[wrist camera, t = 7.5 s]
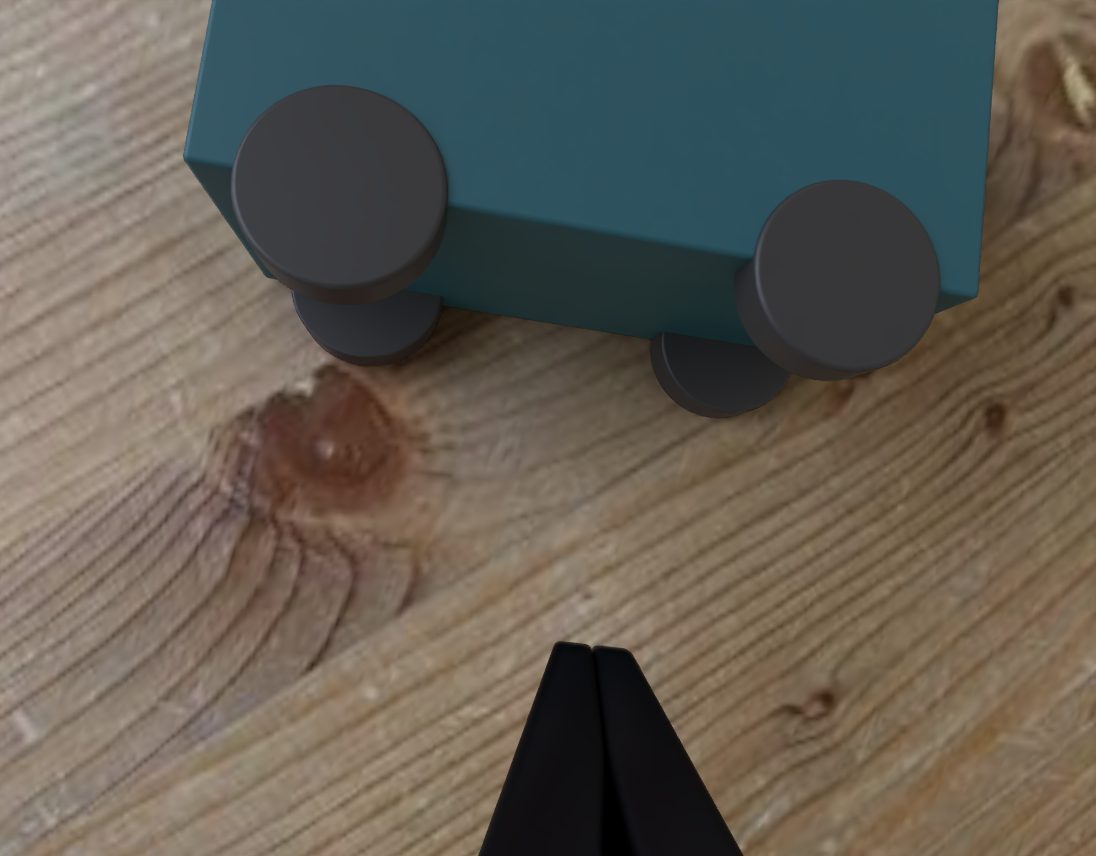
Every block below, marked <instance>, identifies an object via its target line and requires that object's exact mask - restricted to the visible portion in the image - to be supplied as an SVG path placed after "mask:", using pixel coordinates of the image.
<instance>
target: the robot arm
mask: <svg viewBox="0 0 1096 856" xmlns="http://www.w3.org/2000/svg"><path fill="white" fill-rule="evenodd" d="M478 856H743V854H742V852H741V850H740V848H739V847H738V845H737V843H736V841H735V839H734V838H733V836H732V834H731V832H730V830H729V828H728V827H727V825H726V823H725V821H724V819H723V818H722V816H721V814H720V812H719V810H718V809H717V807H716V805H715V803H714V801H713V799H712V798H711V796H710V794H709V792H708V790H707V789H706V787H705V785H704V783H703V781H702V779H701V778H700V776H699V774H698V772H697V770H696V769H695V767H694V765H693V763H692V761H691V760H690V758H689V756H688V754H687V752H686V750H685V749H684V747H683V745H682V743H681V741H680V740H679V738H678V736H677V734H676V732H675V731H674V729H673V727H672V725H671V723H670V721H669V720H668V718H667V716H666V714H665V712H664V711H663V709H662V707H661V705H660V703H659V701H658V700H657V698H656V696H655V694H654V692H653V691H652V689H651V687H650V685H649V683H648V682H647V680H646V678H645V676H644V674H643V672H642V671H641V669H640V667H639V665H638V663H637V662H636V660H635V658H634V656H633V655H632V653H631V652H629V651H628V650H627V649H624V648H617V647H608V646H595V647H593V648H592V649H591V647H590V646H589V645H587V644H582V643H573V642H564V641H558V642H556V643H555V645H554V647H553V649H552V652H551V655H550V658H549V660H548V663H547V666H546V669H545V672H544V674H543V677H542V680H541V683H540V685H539V688H538V691H537V694H536V697H535V699H534V702H533V705H532V708H531V710H530V713H529V716H528V719H527V722H526V724H525V727H524V730H523V733H522V736H521V738H520V741H519V744H518V747H517V749H516V752H515V755H514V758H513V761H512V763H511V766H510V769H509V772H508V774H507V777H506V780H505V783H504V786H503V788H502V791H501V794H500V797H499V799H498V802H497V805H496V808H495V811H494V813H493V816H492V819H491V822H490V825H489V827H488V830H487V833H486V836H485V838H484V841H483V844H482V847H481V850H480V852H479V855H478Z"/></svg>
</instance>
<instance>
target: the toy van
mask: <svg viewBox="0 0 1096 856" xmlns="http://www.w3.org/2000/svg"><path fill="white" fill-rule="evenodd" d="M998 3H999V0H212V5H211V10H210V16H209V21H208V26H207V31H206V37H205V42H204V47H203V53H202V58H201V63H200V69H199V74H198V79H197V84H196V90H195V95H194V100H193V106H192V111H191V116H190V122H189V127H188V132H187V137H186V143H185V148H184V153H183V157H184V161H185V162H186V163H187V165H188V166H189V168H190V169H191V171H192V172H193V173H194V175H195V176H196V178H197V179H198V181H199V182H200V183H201V185H202V186H203V188H204V189H205V191H206V192H207V193H208V195H209V196H210V198H211V199H212V201H213V202H214V204H215V205H216V206H217V208H218V209H219V211H220V212H221V214H222V215H223V216H224V218H225V219H226V221H227V222H228V224H229V225H230V226H231V228H232V229H233V231H234V232H235V234H236V235H237V236H238V238H239V239H240V241H241V242H242V244H243V245H244V246H245V248H246V249H247V251H248V252H249V254H250V255H251V256H252V258H253V259H254V261H255V262H256V264H257V265H258V266H259V268H260V269H261V271H262V272H263V274H264V275H265V276H266V277H268V278H272V279H278V280H279V281H280V282H282V283H283V284H285V285H286V286H287V287H289V288H290V289H292V297H293V302H294V305H295V308H296V311H297V313H298V315H299V317H300V319H301V321H302V322H303V324H304V325H305V327H306V328H307V330H308V331H309V333H310V334H311V336H312V337H313V338H314V340H315V341H316V342H317V343H318V344H319V345H320V346H321V347H322V348H323V349H325V350H326V351H327V352H329V353H330V354H332V355H333V356H335V357H337V358H339V359H341V360H343V361H346V362H349V363H353V364H357V365H364V366H380V365H386V364H390V363H394V362H397V361H399V360H402V359H404V358H406V357H408V356H409V355H411V354H413V353H414V352H415V351H417V350H418V349H419V348H420V347H421V346H422V345H423V344H424V343H425V342H426V341H427V340H428V339H429V337H430V336H431V334H432V333H433V331H434V329H435V327H436V326H437V323H438V320H439V318H440V314H441V310H442V306H447V307H454V308H460V309H466V310H472V311H479V312H485V313H491V314H497V315H504V316H510V317H516V318H523V319H529V320H535V321H541V322H548V323H554V324H560V325H566V326H573V327H579V328H585V329H591V330H598V331H604V332H610V333H616V334H623V335H629V336H635V337H641V338H648V339H651V344H650V352H651V361H652V365H653V369H654V372H655V374H656V377H657V379H658V381H659V383H660V384H661V386H662V387H663V389H664V390H665V391H666V393H667V394H668V395H669V396H670V397H671V398H672V399H673V400H674V401H675V402H676V403H678V404H679V405H680V406H682V407H683V408H685V409H687V410H689V411H691V412H693V413H696V414H698V415H702V416H706V417H714V418H724V417H731V416H735V415H738V414H741V413H744V412H748V411H751V410H753V409H756V408H759V407H761V406H763V405H765V404H766V403H767V402H769V401H770V400H772V399H773V398H774V397H775V396H776V395H777V394H778V393H779V392H780V391H781V390H782V388H783V387H784V386H785V384H786V383H787V381H788V379H789V377H790V375H791V373H793V374H795V375H798V376H801V377H804V378H808V379H813V380H820V381H838V380H843V379H849V378H852V377H855V376H858V375H861V374H864V373H867V372H870V371H873V370H876V369H879V368H882V367H885V366H888V365H890V364H892V363H894V362H895V361H897V360H899V359H900V358H902V357H903V356H904V355H906V354H907V353H908V352H909V351H910V350H911V349H913V348H914V347H915V346H916V344H917V343H918V342H919V341H920V339H921V338H922V337H923V335H924V334H925V332H926V330H927V329H928V327H929V325H930V323H931V321H932V319H933V316H934V314H936V313H939V312H941V311H944V310H946V309H949V308H951V307H954V306H956V305H959V304H961V303H964V302H966V301H969V300H971V299H974V298H975V297H976V296H977V294H978V287H979V273H980V259H981V245H982V230H983V216H984V202H985V188H986V173H987V159H988V145H989V131H990V117H991V102H992V88H993V74H994V60H995V45H996V31H997V17H998Z"/></svg>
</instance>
